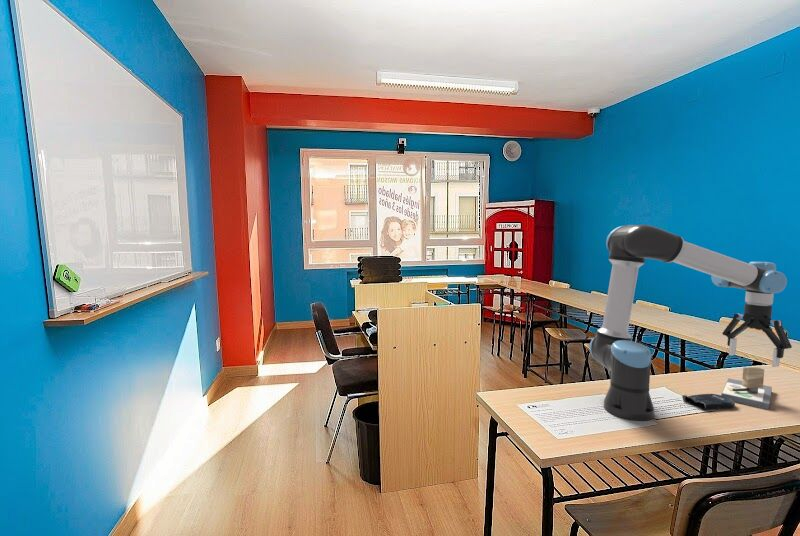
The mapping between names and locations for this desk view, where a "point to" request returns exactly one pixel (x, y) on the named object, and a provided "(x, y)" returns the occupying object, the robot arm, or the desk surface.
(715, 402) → the dark grey hollow piece
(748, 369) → the wooden block with bar
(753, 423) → the desk surface
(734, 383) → the board
